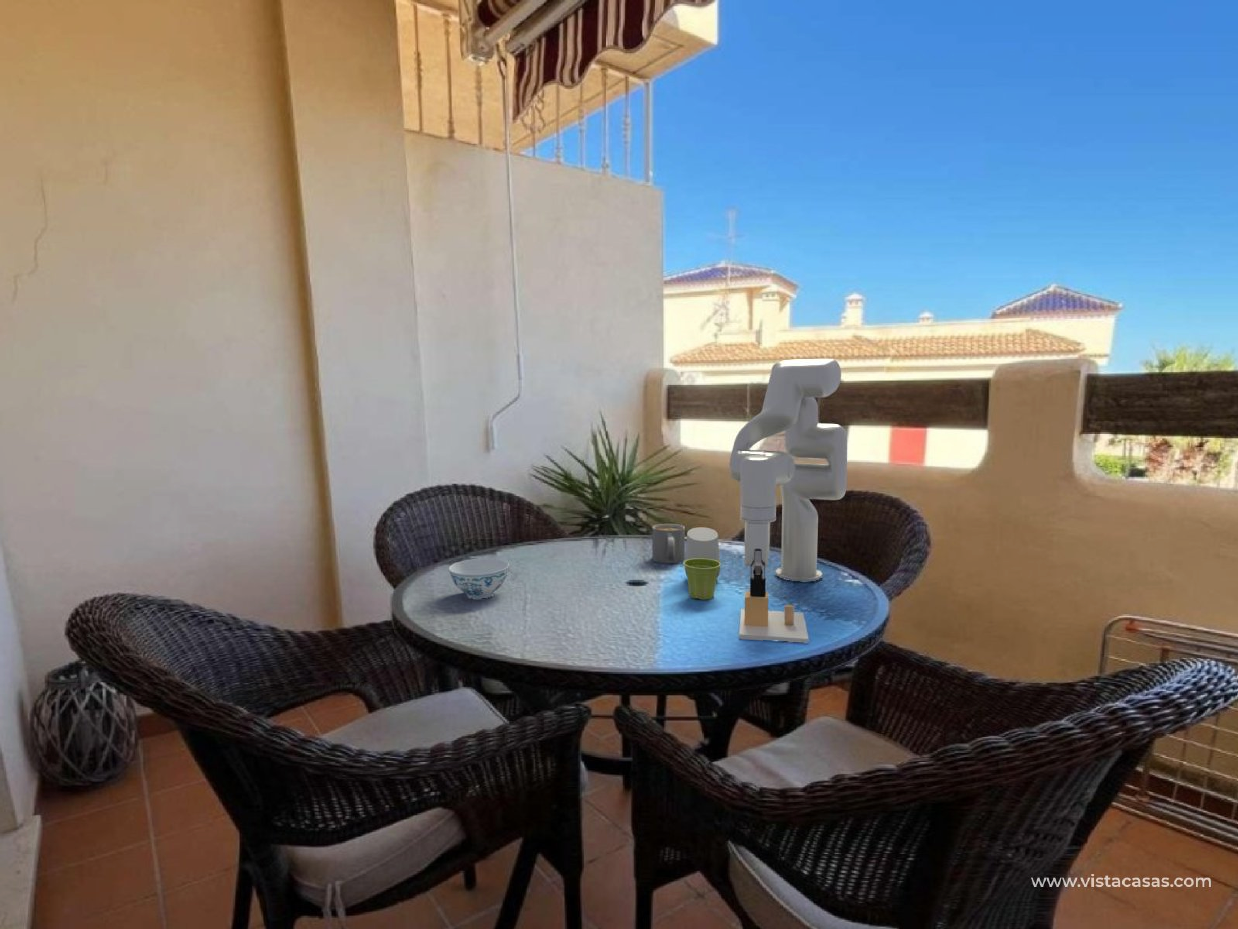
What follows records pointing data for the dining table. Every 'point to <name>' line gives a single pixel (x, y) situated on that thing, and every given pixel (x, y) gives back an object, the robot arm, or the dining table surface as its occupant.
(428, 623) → the dining table surface
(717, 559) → the smart speaker
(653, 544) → the coffee mug
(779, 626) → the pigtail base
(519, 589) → the dining table surface
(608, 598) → the dining table surface
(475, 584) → the chinaware
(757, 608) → the tan cardboard-like box
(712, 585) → the plant pot
